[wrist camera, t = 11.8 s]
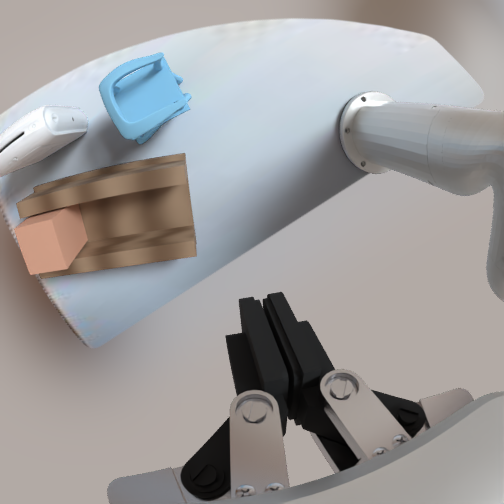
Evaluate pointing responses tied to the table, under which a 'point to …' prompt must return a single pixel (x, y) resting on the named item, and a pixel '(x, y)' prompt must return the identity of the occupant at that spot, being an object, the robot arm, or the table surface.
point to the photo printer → (40, 135)
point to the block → (51, 239)
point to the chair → (143, 96)
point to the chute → (124, 213)
